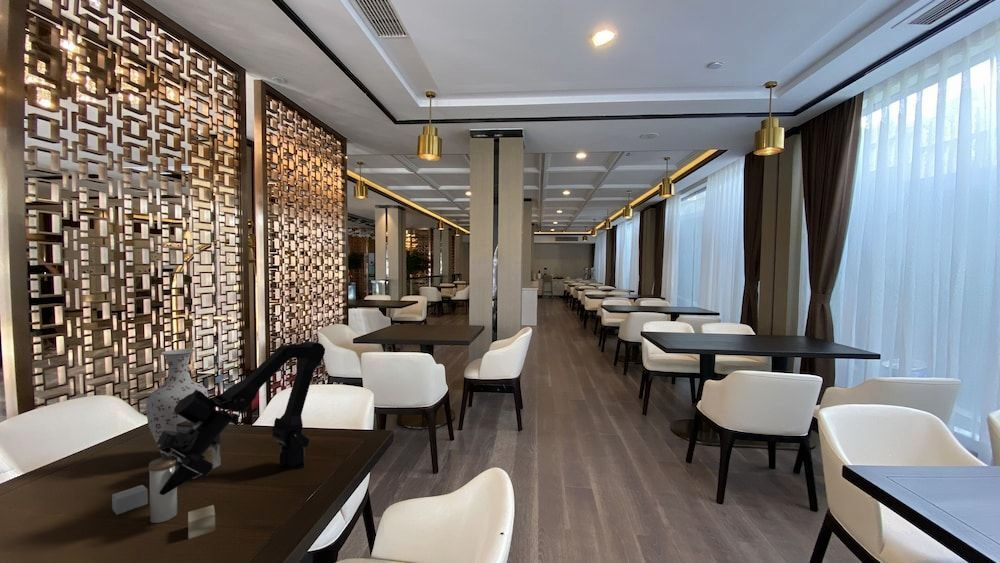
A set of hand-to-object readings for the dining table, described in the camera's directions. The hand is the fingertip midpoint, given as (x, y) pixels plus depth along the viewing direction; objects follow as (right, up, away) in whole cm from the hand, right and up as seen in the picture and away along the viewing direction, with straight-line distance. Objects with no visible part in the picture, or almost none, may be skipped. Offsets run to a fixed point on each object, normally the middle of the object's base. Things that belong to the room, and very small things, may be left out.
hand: (156, 490), depth 99 cm
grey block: (-12, -7, +6) cm, 15 cm away
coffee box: (-8, -7, +25) cm, 27 cm away
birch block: (+13, -8, -3) cm, 16 cm away
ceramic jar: (+1, -7, +1) cm, 7 cm away
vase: (-22, -7, +35) cm, 42 cm away
